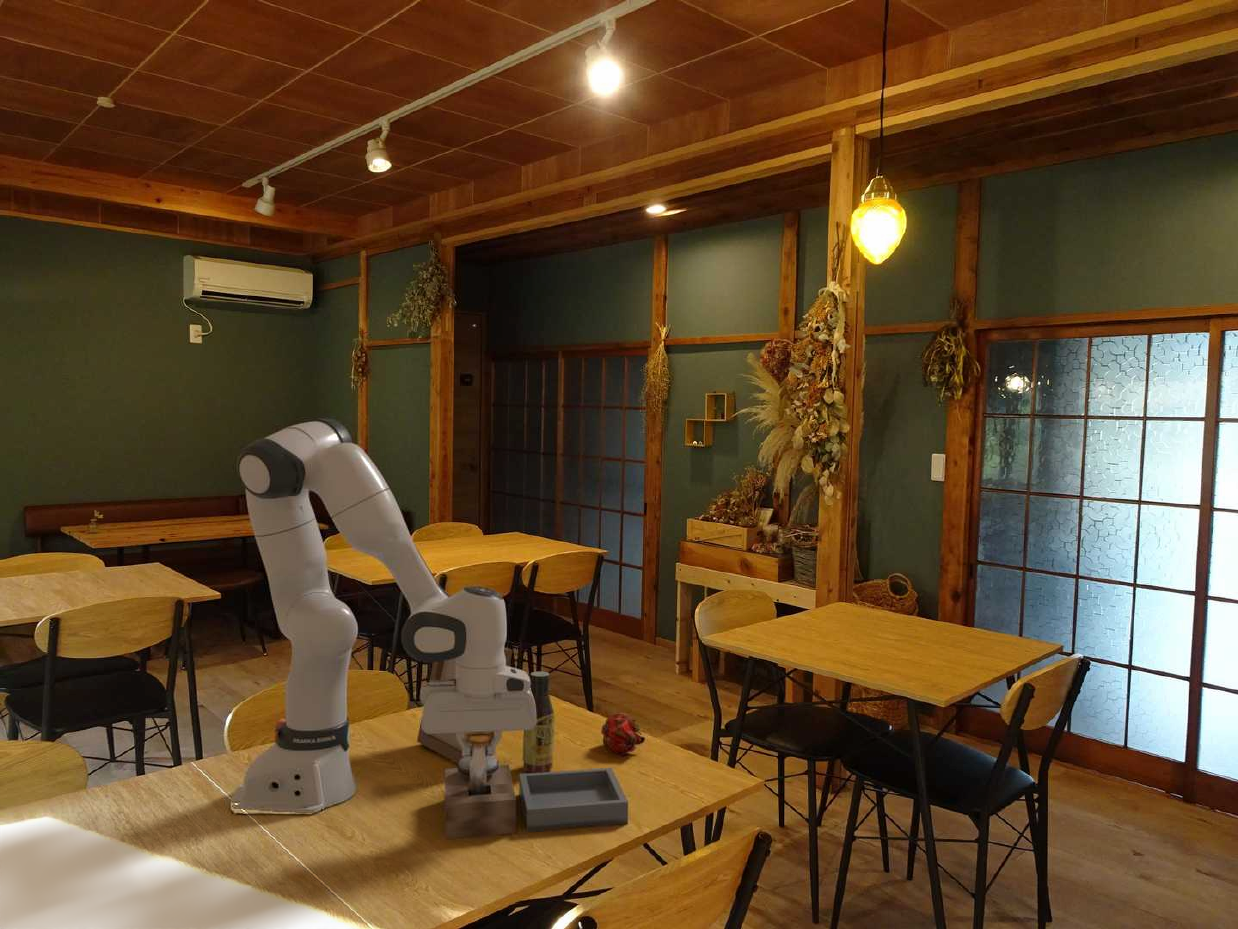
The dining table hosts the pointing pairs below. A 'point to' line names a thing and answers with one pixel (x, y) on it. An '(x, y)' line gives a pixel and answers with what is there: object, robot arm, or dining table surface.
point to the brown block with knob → (479, 802)
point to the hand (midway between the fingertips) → (478, 755)
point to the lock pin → (478, 761)
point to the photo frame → (447, 741)
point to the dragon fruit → (621, 733)
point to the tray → (572, 799)
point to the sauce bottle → (540, 728)
